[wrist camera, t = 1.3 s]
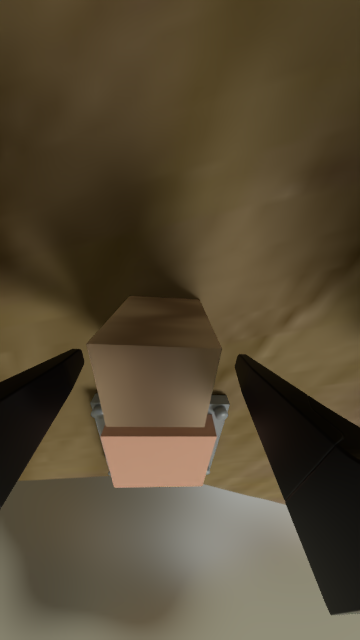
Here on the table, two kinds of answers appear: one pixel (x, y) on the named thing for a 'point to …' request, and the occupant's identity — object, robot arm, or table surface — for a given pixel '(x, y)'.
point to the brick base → (161, 449)
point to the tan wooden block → (155, 363)
